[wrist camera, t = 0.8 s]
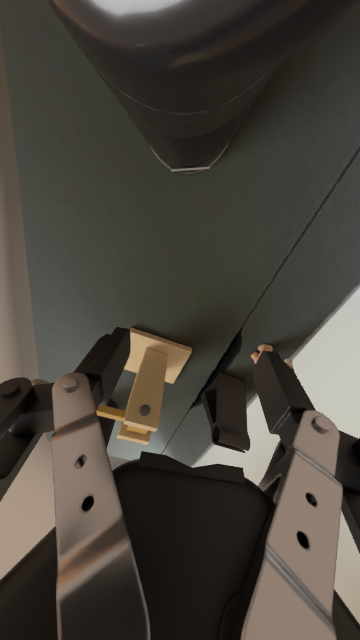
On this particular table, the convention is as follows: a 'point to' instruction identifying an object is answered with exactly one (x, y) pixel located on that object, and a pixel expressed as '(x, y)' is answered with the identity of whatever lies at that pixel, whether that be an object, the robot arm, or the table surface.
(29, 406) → the robot arm
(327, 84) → the table surface
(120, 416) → the lever
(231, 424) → the phone stand
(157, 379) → the bracket
